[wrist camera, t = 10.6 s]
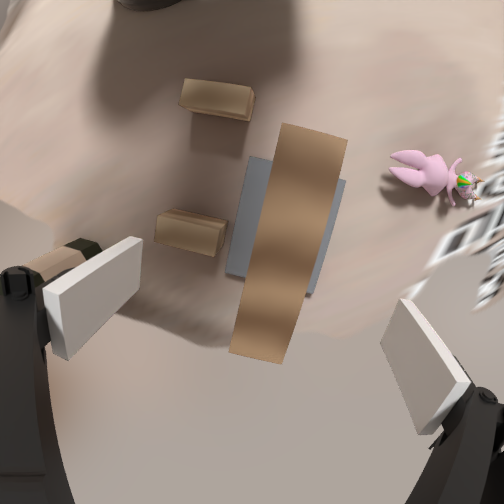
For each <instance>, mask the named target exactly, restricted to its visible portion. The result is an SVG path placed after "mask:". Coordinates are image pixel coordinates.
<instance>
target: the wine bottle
mask: <svg viewBox="0 0 504 504" xmlns="http://www.w3.org/2000/svg"><path fill="white" fill-rule="evenodd" d="M101 252H103V251H102V250H101V248H100V246H99V245H98V243H96V242H93V241H89V240H85V239H82V238H79V239H77V240H75V241H73V242H71V243H68V244H66V245H64V246H62V247H60V248H57V249H55V250H53V251H51V252H49V253H47V254H45V255H43V256H41V257H39V258H37V259H35V260H32V261H30V262H29V263H27V264H24V265H22V266H25V267H28V268H30V269H31V270H32V271H33V276H34V286H35V288H36V287H38V286H39V285H41V284H42V283H44V282H46V281H47V280H49V279H50V280H51V278H52V277H54V276H55V275H56V276H57V274H59V273H60V272H62V271H64V270H66V269H70V268H73V267H77V266H79V265H81V264H82V263H84V262H86V261H87V260H89V259H91V258H92V257H94V256H96V255H98V254H99V253H101ZM0 295H3V291H2V284H1V278H0Z"/></svg>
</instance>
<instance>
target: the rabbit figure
mask: <svg viewBox="0 0 504 504" xmlns="http://www.w3.org/2000/svg"><path fill="white" fill-rule="evenodd" d="M390 157H391V158H393V159H395V160H397V161H399V162H401V163H403V164H406V165H409V166H412V167H415V168H419V170H418V171H417V170H413V169H409V168H402V167H389V171H390V172H391V173H392V174H393V175H394V176H396V177H397V178H398V179H400V180H401V181H403V182H404V183H406V184H408V185H410V186H412V187H416V188H417V187H420V186H423V188H424V189H425V190H426V191H427V192H428V193H429V194H430V195H431V196H435V195H437V194H438V193H439V192H440V191H441V190H442V189H443V188H444V187H445V186H446V189H447V193H448V197H449V200H450V202H451V204H452V206H455V201H454V200H453V198H452V189H453V188H455V189H456V190H457V192H458V193H459V195H460V196H461V197H462V198H464V199H475V200H479V199H480V198H479V197H477V196H476V194H474V192H473V191H472V184H474V183H475V182H477V183H479V182H482V181H483V180H481V179H480V178H478V177H476V176H475V175H474V174H472V173H470V172H467V171H466V172H463V173H461V174H459V175H456V174H455V168H456V166H457V164H459V163H460V162H461V161H462V158H458V159H457V160H456V161H455V162H454V163H453V164H452V166H451V167H450V169H449V171H448V168H447V166H446V164H445V162H444V160H443V159H442V157H441V156H440V155H439V154H436V155H433V156H430V157H426V156H425V155H424V154H423V153H422V152H420V151H417V150H404V151H399V152H396V153H393V154H392V155H391V156H390ZM483 182H485V181H483ZM475 200H474V201H475ZM481 200H482V199H481Z"/></svg>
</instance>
